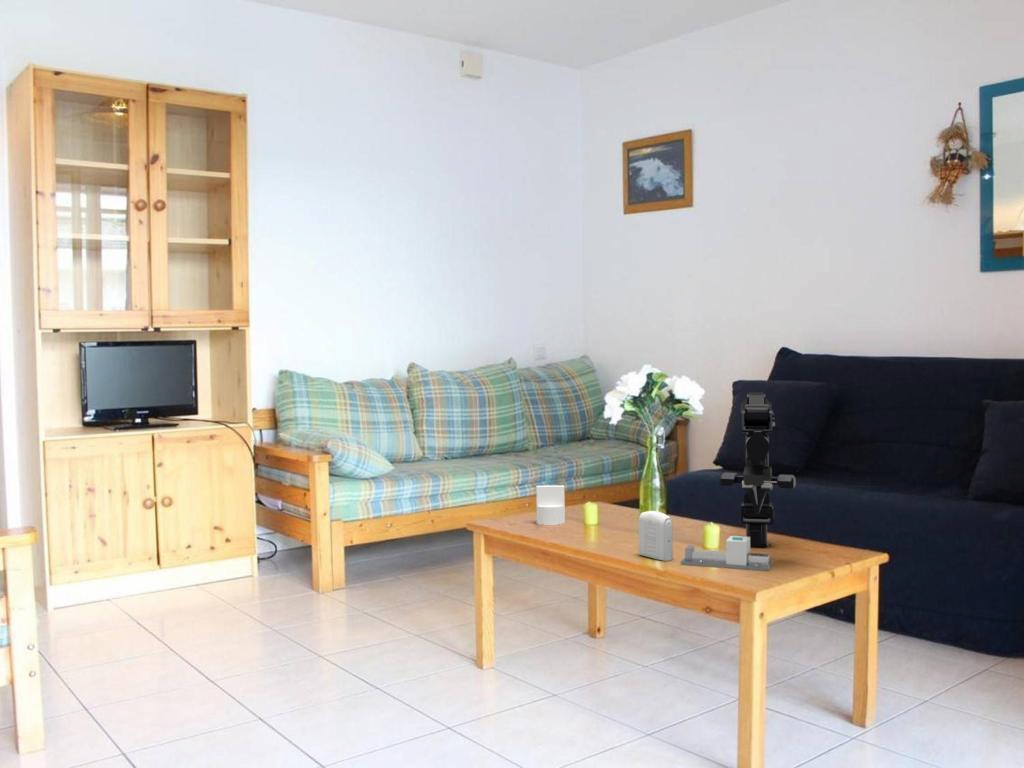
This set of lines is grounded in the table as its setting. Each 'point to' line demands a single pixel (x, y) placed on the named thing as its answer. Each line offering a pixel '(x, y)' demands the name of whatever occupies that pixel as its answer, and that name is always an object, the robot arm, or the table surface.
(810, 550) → the table surface
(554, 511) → the cylinder with rectangular tab
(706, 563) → the rail panel
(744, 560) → the module
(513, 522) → the table surface
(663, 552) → the photo printer
